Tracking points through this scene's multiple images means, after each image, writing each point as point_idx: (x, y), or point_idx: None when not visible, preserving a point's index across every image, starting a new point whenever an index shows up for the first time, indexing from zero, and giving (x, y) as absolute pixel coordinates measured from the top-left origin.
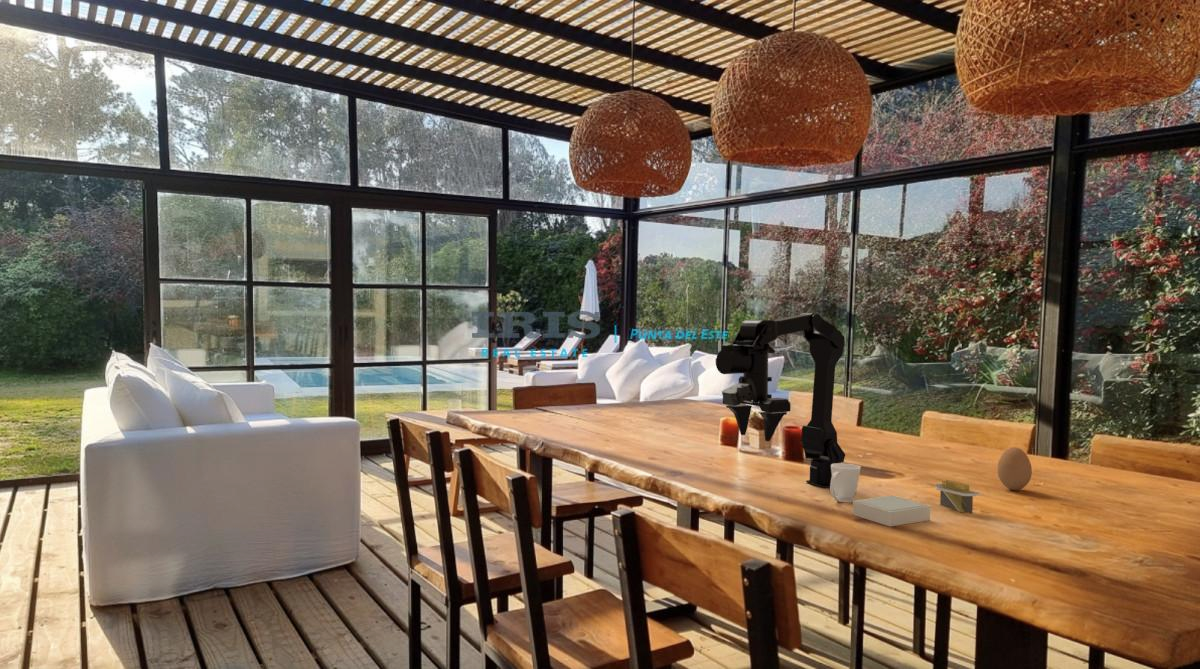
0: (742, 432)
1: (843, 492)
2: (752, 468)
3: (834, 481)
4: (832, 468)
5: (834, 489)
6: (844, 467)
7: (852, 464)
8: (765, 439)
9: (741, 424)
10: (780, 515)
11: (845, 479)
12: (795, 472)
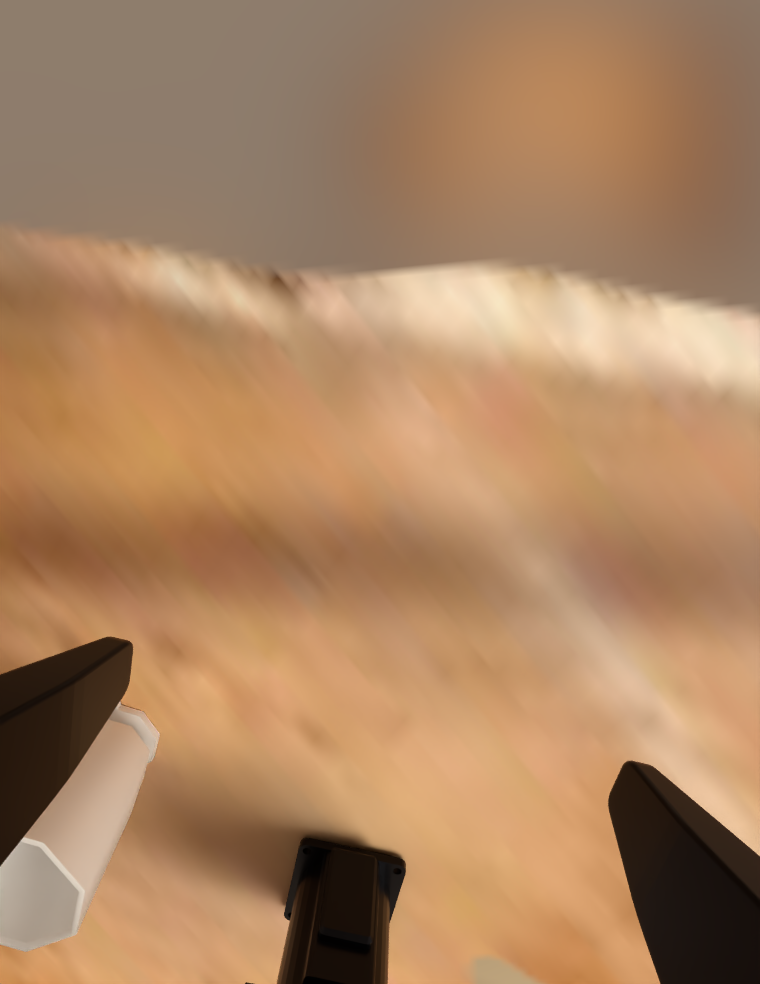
0: (640, 796)
1: None
2: None
3: (84, 767)
4: (38, 826)
5: (115, 740)
6: (69, 909)
7: (23, 946)
8: (111, 644)
9: (745, 935)
10: (56, 286)
11: None
12: (552, 970)
